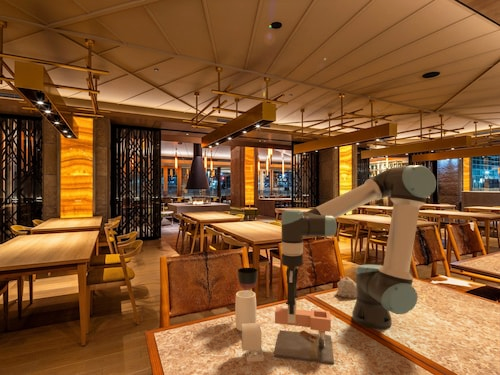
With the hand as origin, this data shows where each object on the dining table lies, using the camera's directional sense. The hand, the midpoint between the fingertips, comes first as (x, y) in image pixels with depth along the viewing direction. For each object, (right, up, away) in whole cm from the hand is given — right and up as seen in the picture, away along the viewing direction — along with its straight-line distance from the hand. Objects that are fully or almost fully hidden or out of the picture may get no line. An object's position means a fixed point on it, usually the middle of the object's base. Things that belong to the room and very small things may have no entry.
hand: (292, 319), depth 99 cm
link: (+3, -1, -1) cm, 4 cm away
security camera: (-14, -10, -7) cm, 18 cm away
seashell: (+37, -10, +47) cm, 61 cm away
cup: (-17, -10, +12) cm, 22 cm away
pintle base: (+4, -9, -1) cm, 10 cm away
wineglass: (-16, -10, +24) cm, 30 cm away
